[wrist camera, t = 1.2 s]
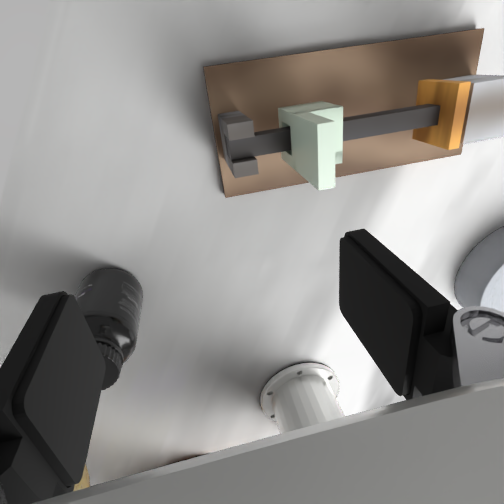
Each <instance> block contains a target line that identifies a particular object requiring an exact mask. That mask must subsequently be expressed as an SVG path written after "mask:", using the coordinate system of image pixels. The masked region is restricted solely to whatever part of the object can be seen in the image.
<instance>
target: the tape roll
mask: <svg viewBox="0 0 504 504" xmlns="http://www.w3.org/2000/svg"><path fill="white" fill-rule="evenodd" d="M455 295H456V298H457V300H458V302H459V304H460V305H461V306H462V307H470V306H482V307H488V308H492V309H496V310H498V311H501V312H504V227H502V228H500V229H498V230H496V231H494V232H493V233H491V234H490V235H488V236H487V237H486V238H484V239H483V240H482V241H481V242H480V243H478V244H477V245H476V246H475V247H474V249H473V250H472V251H471V252H470V253H469V254H468V256H467V257H466V258H465V260H464V261H463V263H462V265H461V267H460V269H459V271H458V273H457V276H456V280H455Z"/></svg>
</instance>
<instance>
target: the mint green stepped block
mask: <svg viewBox="0 0 504 504" xmlns="http://www.w3.org/2000/svg"><path fill="white" fill-rule="evenodd" d="M278 117H279V128H283V127H289V126H290V132H291V149H292V150H290V151H284V152H281V157H282V159H283V160H284V161H285V162H286V163H287V164H288V165H290V166H291V167H292V168H293V169H294V170H295V171H297V172H298V173H299V174H300V175H301V176H302V177H304V178H305V179H306V180H307V181H308V182H309V183H311V184H312V185H313V186H314V187H315V188H316V189H317V190H325V189H330V188H335V164H340V163H342V157H343V106H340V105H336V104H331V103H327V102H323V101H319V102H313V103H307V104H300V105H294V106H287V107H281V108H278Z"/></svg>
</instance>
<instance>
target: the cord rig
mask: <svg viewBox="0 0 504 504" xmlns="http://www.w3.org/2000/svg"><path fill="white" fill-rule="evenodd" d="M483 33H484V28H482V29H474V30H467V31H459V32H452V33H445V34H438V35H430V36H423V37H416V38H409V39H401V40H394V41H387V42H380V43H372V44H365V45H358V46H351V47H343V48H336V49H329V50H322V51H314V52H307V53H300V54H293V55H285V56H278V57H271V58H264V59H256V60H249V61H242V62H235V63H227V64H220V65H213V66H206V67H203V68H204V74H205V80H206V86H207V92H208V98H209V104H210V110H211V116H212V122H213V129H214V135H215V141H216V147H217V153H218V159H219V165H220V171H221V177H222V183H223V189H224V195H225V197H226V198H227V197H232V196H238V195H243V194H249V193H254V192H260V191H265V190H270V189H276V188H281V187H287V186H292V185H297V184H303V183H308V181H307V180H306V179H305V178H304V177H302V176H301V175H300V174H299V173H298V172H297V171H295V170H294V169H293V168H292V167H291V166H290V165H288V164H287V163H286V162H285V161H284V160H283V159H282V157H281V152H284V151H290V150H292V149H291V132H290V126H289V127H283V128H279V117H278V108H281V107H287V106H294V105H300V104H307V103H313V102H319V101H323V102H327V103H331V104H336V105H340V106H343V157H342V163H340V164H335V177H341V176H346V175H352V174H357V173H363V172H368V171H373V170H379V169H384V168H390V167H395V166H400V165H406V164H411V163H417V162H422V161H428V160H433V159H438V158H444V157H449V156H455V155H460V154H461V152H462V147H463V144H468V143H473V142H479V141H484V140H490V139H496V138H501V137H504V76H497V75H476V71H477V66H478V60H479V55H480V50H481V44H482V39H483Z"/></svg>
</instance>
